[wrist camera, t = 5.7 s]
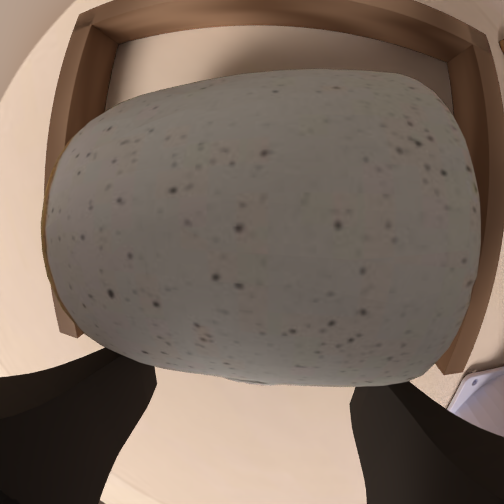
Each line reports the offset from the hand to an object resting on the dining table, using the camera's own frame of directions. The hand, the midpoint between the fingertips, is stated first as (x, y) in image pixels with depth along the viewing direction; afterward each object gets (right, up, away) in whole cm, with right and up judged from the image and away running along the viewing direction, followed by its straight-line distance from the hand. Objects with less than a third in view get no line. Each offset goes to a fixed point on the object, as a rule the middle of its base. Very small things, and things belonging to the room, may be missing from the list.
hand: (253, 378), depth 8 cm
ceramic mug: (+1, +4, +3) cm, 5 cm away
